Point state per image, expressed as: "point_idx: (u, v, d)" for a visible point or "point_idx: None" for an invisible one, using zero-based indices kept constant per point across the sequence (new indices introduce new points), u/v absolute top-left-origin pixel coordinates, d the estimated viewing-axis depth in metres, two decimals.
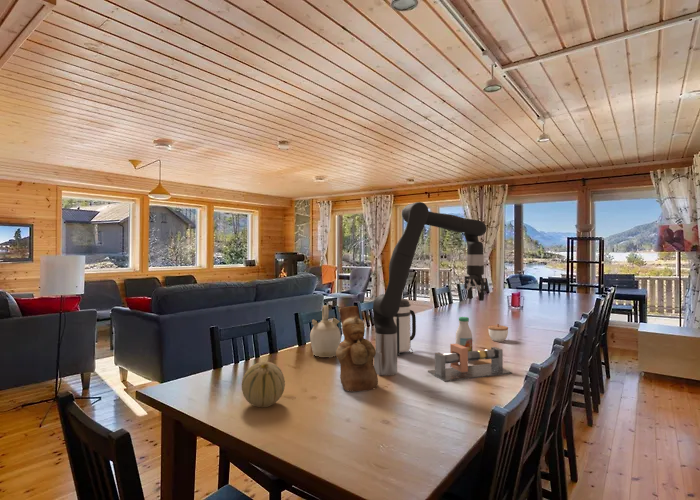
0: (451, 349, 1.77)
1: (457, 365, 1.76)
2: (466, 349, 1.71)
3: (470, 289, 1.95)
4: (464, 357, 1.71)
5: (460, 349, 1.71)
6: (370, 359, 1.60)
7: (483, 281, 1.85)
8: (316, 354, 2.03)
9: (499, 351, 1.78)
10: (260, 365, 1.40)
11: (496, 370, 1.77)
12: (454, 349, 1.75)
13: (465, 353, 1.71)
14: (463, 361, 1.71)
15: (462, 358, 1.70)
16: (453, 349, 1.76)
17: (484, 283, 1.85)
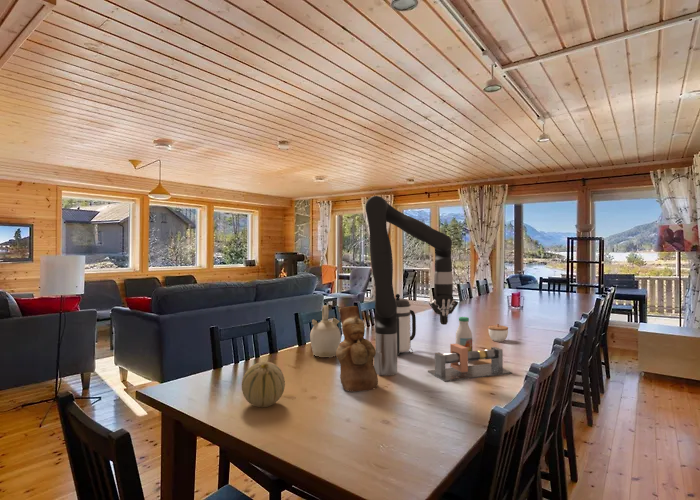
0: (451, 349, 1.77)
1: (457, 365, 1.76)
2: (466, 349, 1.71)
3: None
4: (464, 357, 1.71)
5: (460, 349, 1.71)
6: (370, 359, 1.60)
7: None
8: (316, 354, 2.03)
9: (499, 351, 1.78)
10: (260, 365, 1.40)
11: (496, 370, 1.77)
12: (454, 349, 1.75)
13: (465, 353, 1.71)
14: (463, 361, 1.71)
15: (462, 358, 1.70)
16: (453, 349, 1.76)
17: None
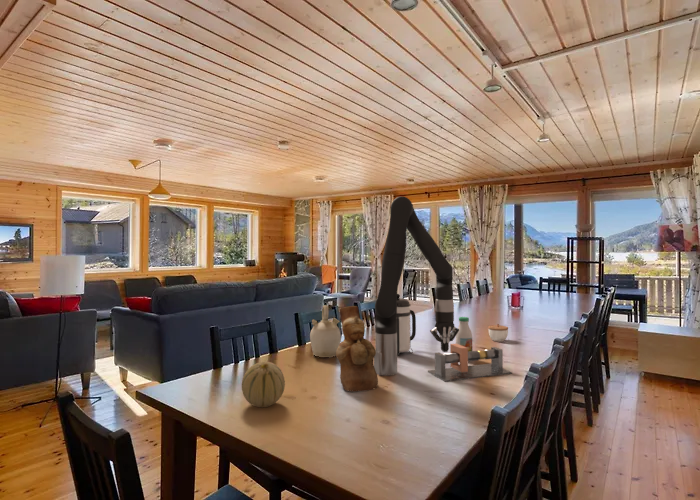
0: (451, 349, 1.77)
1: (457, 365, 1.76)
2: (466, 349, 1.71)
3: None
4: (464, 357, 1.71)
5: (460, 349, 1.71)
6: (370, 359, 1.60)
7: None
8: (316, 354, 2.03)
9: (499, 351, 1.78)
10: (260, 365, 1.40)
11: (496, 370, 1.77)
12: (454, 349, 1.75)
13: (465, 353, 1.71)
14: (463, 361, 1.71)
15: (462, 358, 1.70)
16: (453, 349, 1.76)
17: None
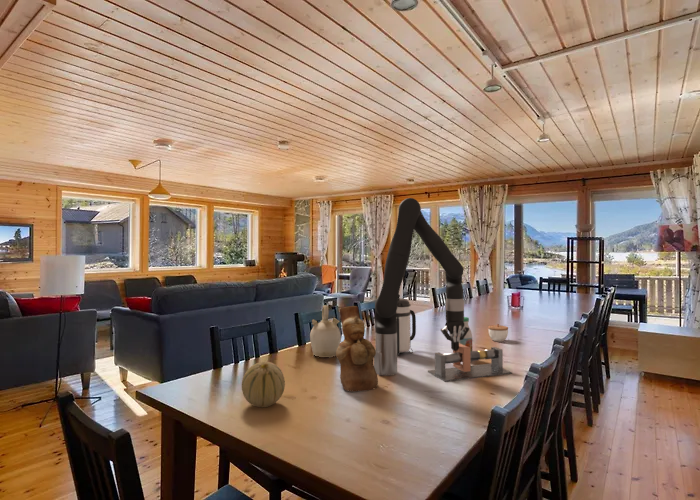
0: None
1: (460, 365, 1.76)
2: (469, 349, 1.71)
3: None
4: (467, 357, 1.71)
5: (463, 348, 1.71)
6: (370, 359, 1.60)
7: None
8: (316, 354, 2.03)
9: (499, 351, 1.78)
10: (260, 365, 1.40)
11: (496, 370, 1.77)
12: None
13: (468, 353, 1.71)
14: (466, 361, 1.71)
15: (465, 358, 1.71)
16: None
17: None
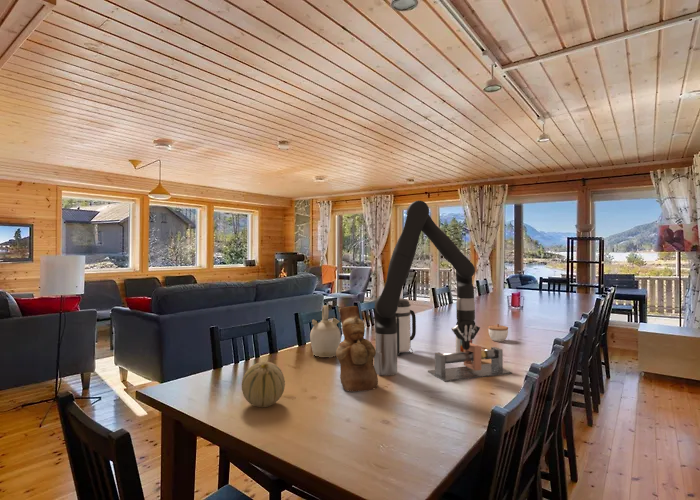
0: None
1: (470, 364, 1.78)
2: (480, 348, 1.73)
3: None
4: (478, 356, 1.73)
5: (473, 347, 1.73)
6: (370, 359, 1.60)
7: None
8: (316, 354, 2.03)
9: (499, 351, 1.78)
10: (260, 365, 1.40)
11: (496, 370, 1.77)
12: None
13: (479, 352, 1.73)
14: (477, 360, 1.73)
15: (476, 357, 1.72)
16: None
17: None
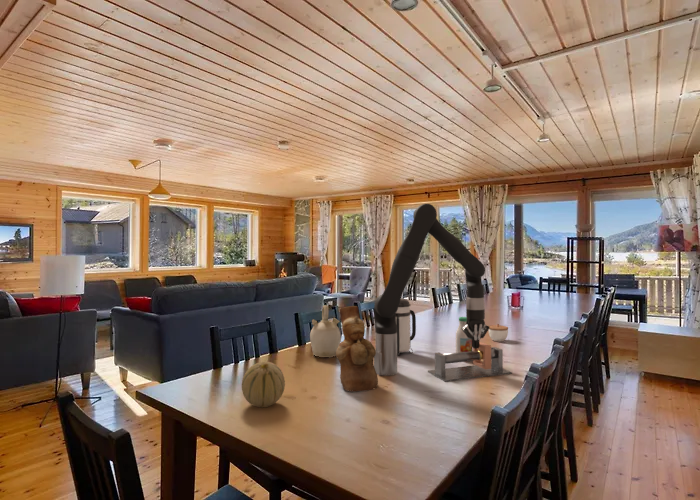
0: None
1: (480, 362, 1.79)
2: (489, 347, 1.75)
3: None
4: (488, 355, 1.74)
5: (483, 346, 1.75)
6: (370, 359, 1.60)
7: None
8: (316, 354, 2.03)
9: (499, 351, 1.78)
10: (260, 365, 1.40)
11: (496, 370, 1.77)
12: None
13: (488, 351, 1.74)
14: (487, 358, 1.74)
15: (486, 356, 1.74)
16: None
17: None
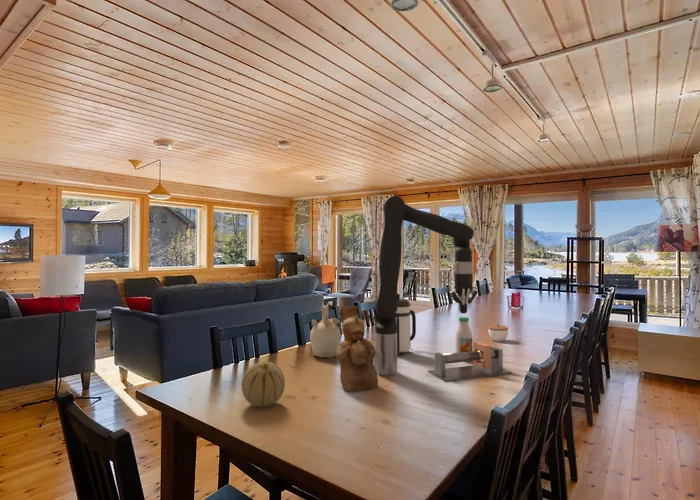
0: (474, 347, 1.81)
1: (480, 362, 1.79)
2: (490, 347, 1.75)
3: None
4: (488, 355, 1.74)
5: (483, 346, 1.75)
6: (370, 359, 1.60)
7: None
8: (316, 354, 2.03)
9: (499, 351, 1.78)
10: (260, 365, 1.40)
11: (496, 370, 1.77)
12: (477, 347, 1.79)
13: (489, 351, 1.74)
14: (487, 358, 1.74)
15: (486, 356, 1.74)
16: (476, 347, 1.79)
17: None
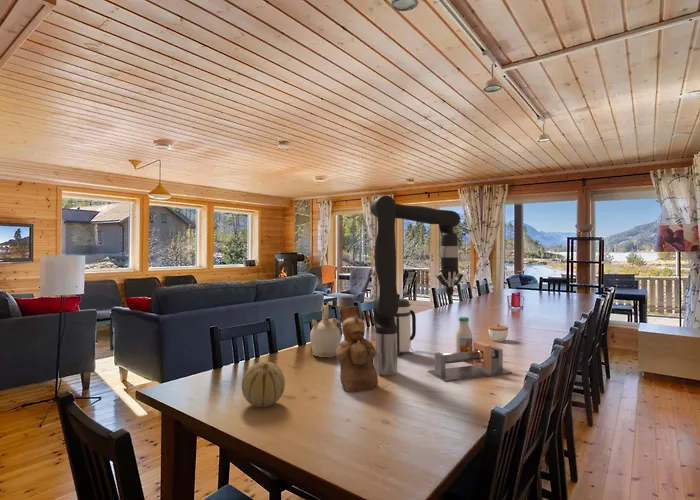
0: (474, 347, 1.81)
1: (480, 362, 1.79)
2: (490, 347, 1.75)
3: None
4: (488, 355, 1.74)
5: (483, 346, 1.75)
6: (370, 359, 1.60)
7: None
8: (316, 354, 2.03)
9: (499, 351, 1.78)
10: (260, 365, 1.40)
11: (496, 370, 1.77)
12: (477, 347, 1.79)
13: (489, 351, 1.74)
14: (487, 358, 1.74)
15: (486, 356, 1.74)
16: (476, 347, 1.79)
17: None
